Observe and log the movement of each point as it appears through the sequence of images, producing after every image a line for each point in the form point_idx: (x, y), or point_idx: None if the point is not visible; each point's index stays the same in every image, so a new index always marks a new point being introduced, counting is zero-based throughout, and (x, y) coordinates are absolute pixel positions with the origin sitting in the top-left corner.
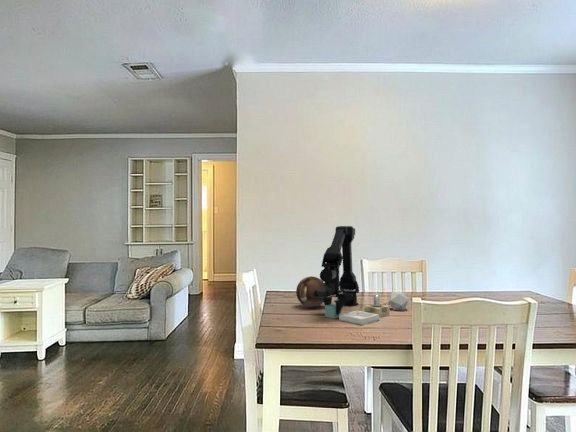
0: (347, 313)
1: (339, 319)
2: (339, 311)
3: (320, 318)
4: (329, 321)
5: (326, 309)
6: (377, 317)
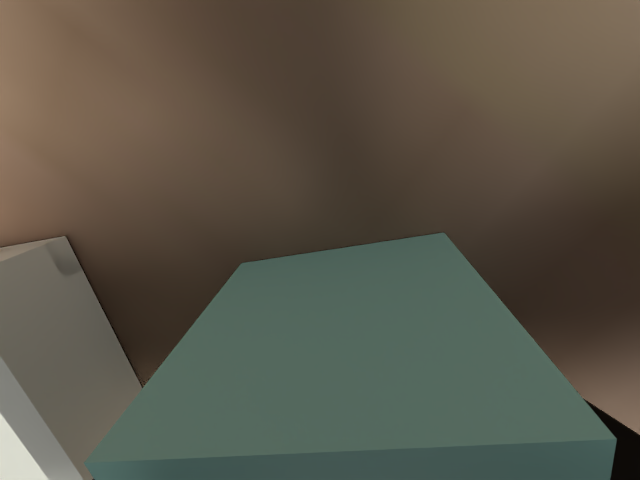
0: (24, 445)
1: (45, 242)
2: None
3: (370, 33)
4: (49, 36)
5: (448, 319)
6: None
